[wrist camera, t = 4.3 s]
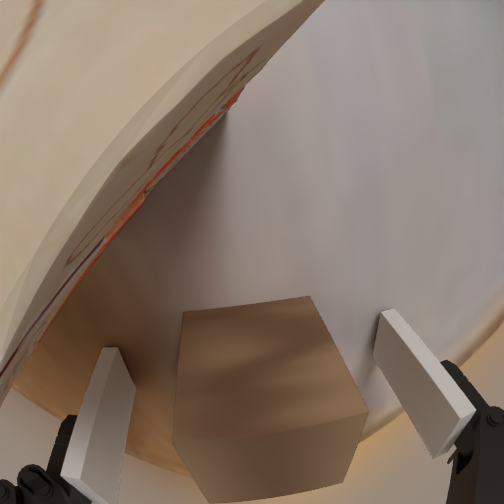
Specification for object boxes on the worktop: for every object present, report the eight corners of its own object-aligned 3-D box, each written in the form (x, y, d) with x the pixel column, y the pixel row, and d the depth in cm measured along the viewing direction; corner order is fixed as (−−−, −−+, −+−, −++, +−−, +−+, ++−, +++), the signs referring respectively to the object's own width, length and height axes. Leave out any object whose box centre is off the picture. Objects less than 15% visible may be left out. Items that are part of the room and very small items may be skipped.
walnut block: (309, 294, 12) (369, 411, 7) (306, 379, 14) (342, 482, 9) (183, 311, 12) (171, 442, 6) (205, 393, 14) (209, 503, 8)
